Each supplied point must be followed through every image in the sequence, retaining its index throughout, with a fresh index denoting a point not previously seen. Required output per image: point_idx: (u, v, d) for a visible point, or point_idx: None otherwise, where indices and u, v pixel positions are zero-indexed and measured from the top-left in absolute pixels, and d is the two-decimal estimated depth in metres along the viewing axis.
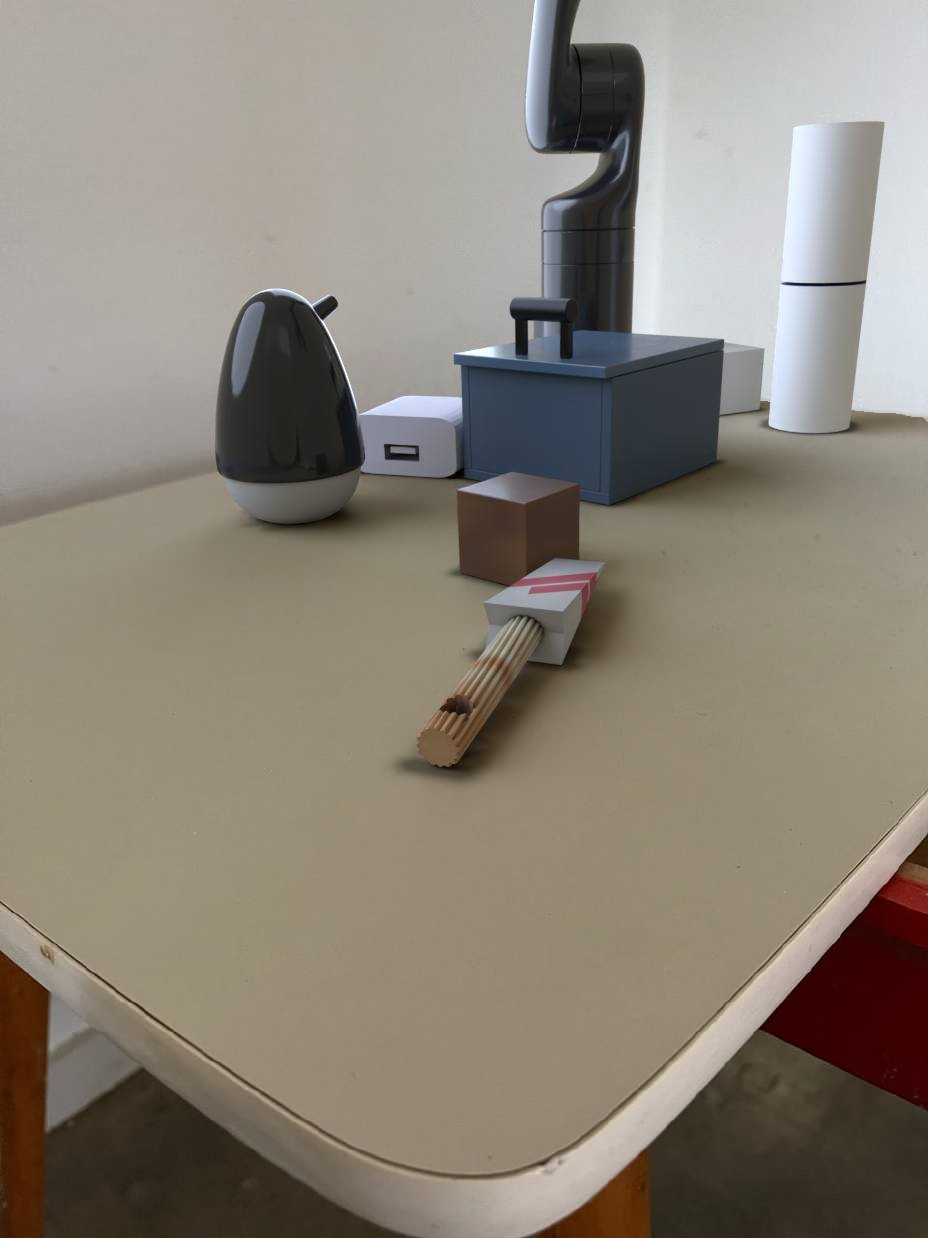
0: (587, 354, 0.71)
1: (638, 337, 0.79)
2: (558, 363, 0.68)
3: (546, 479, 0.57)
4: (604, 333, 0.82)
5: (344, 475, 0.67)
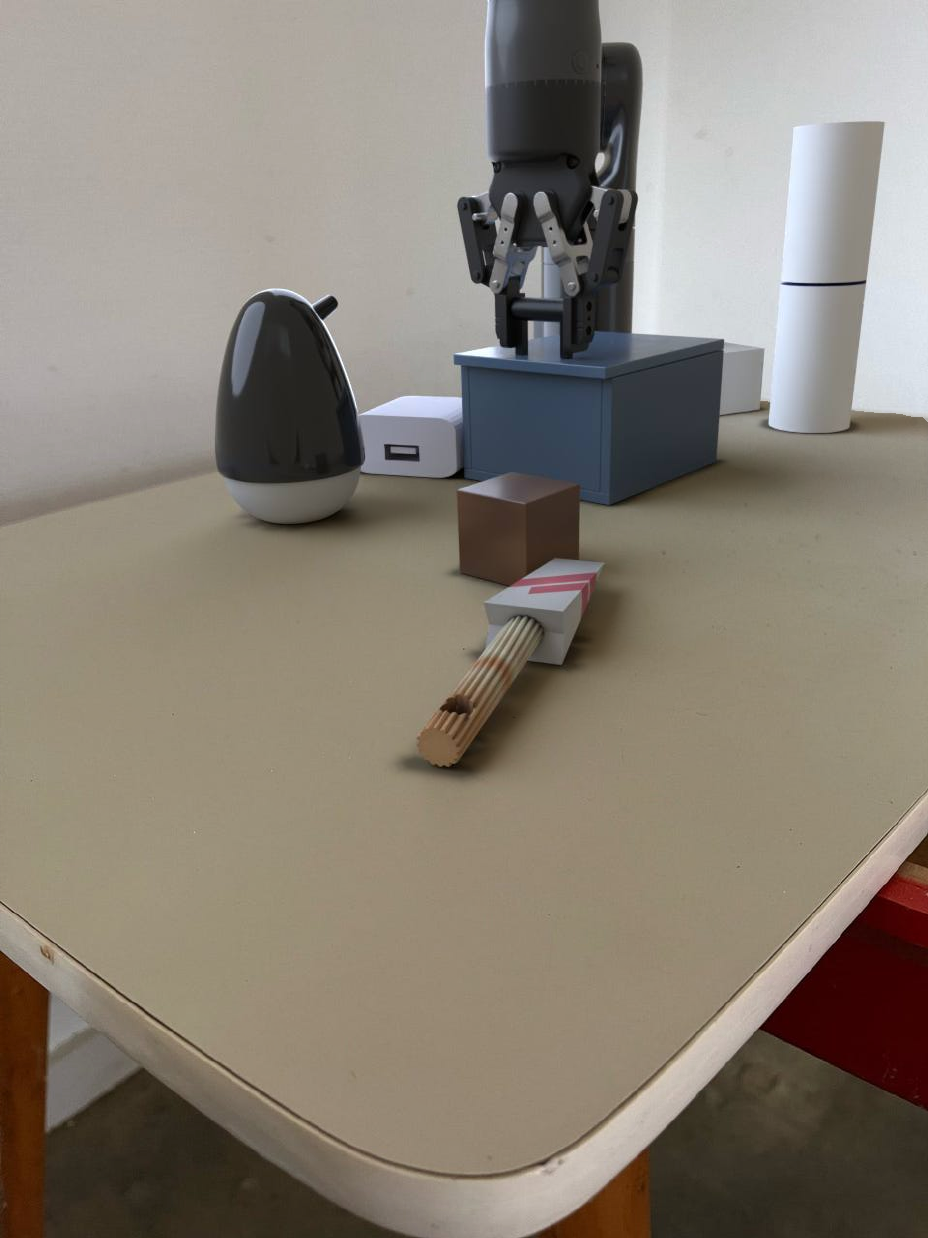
0: (587, 354, 0.71)
1: (638, 337, 0.79)
2: (558, 363, 0.68)
3: (546, 479, 0.57)
4: (604, 333, 0.82)
5: (344, 475, 0.67)
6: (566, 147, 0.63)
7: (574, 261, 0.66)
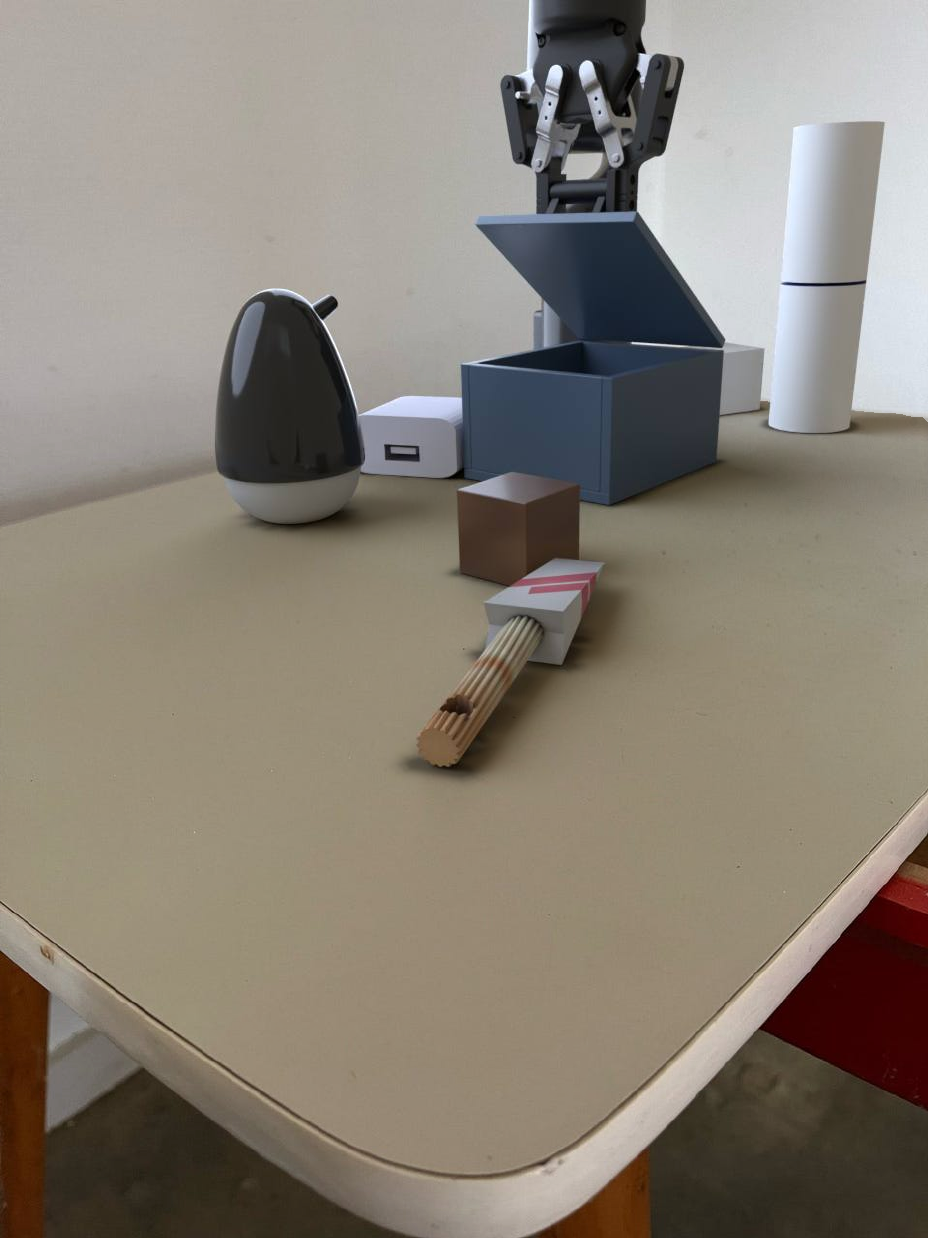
0: None
1: None
2: None
3: (546, 479, 0.57)
4: None
5: (344, 475, 0.67)
6: (614, 12, 0.63)
7: (619, 131, 0.67)
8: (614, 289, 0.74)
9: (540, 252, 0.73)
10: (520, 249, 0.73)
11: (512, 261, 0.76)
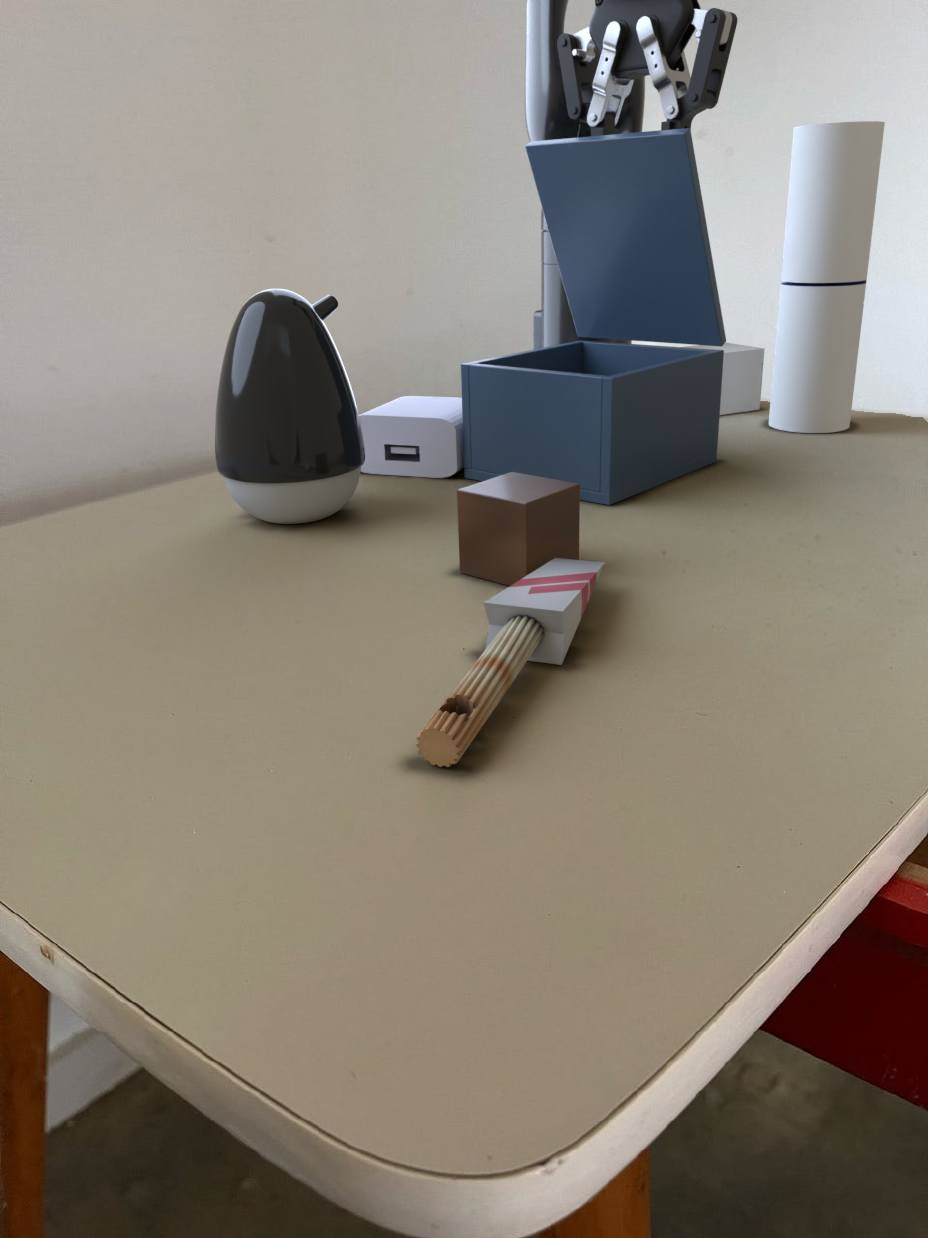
0: None
1: None
2: (640, 132, 0.69)
3: (546, 479, 0.57)
4: None
5: (344, 475, 0.67)
6: None
7: (674, 84, 0.70)
8: (636, 248, 0.75)
9: (578, 189, 0.74)
10: (560, 184, 0.75)
11: (545, 206, 0.77)
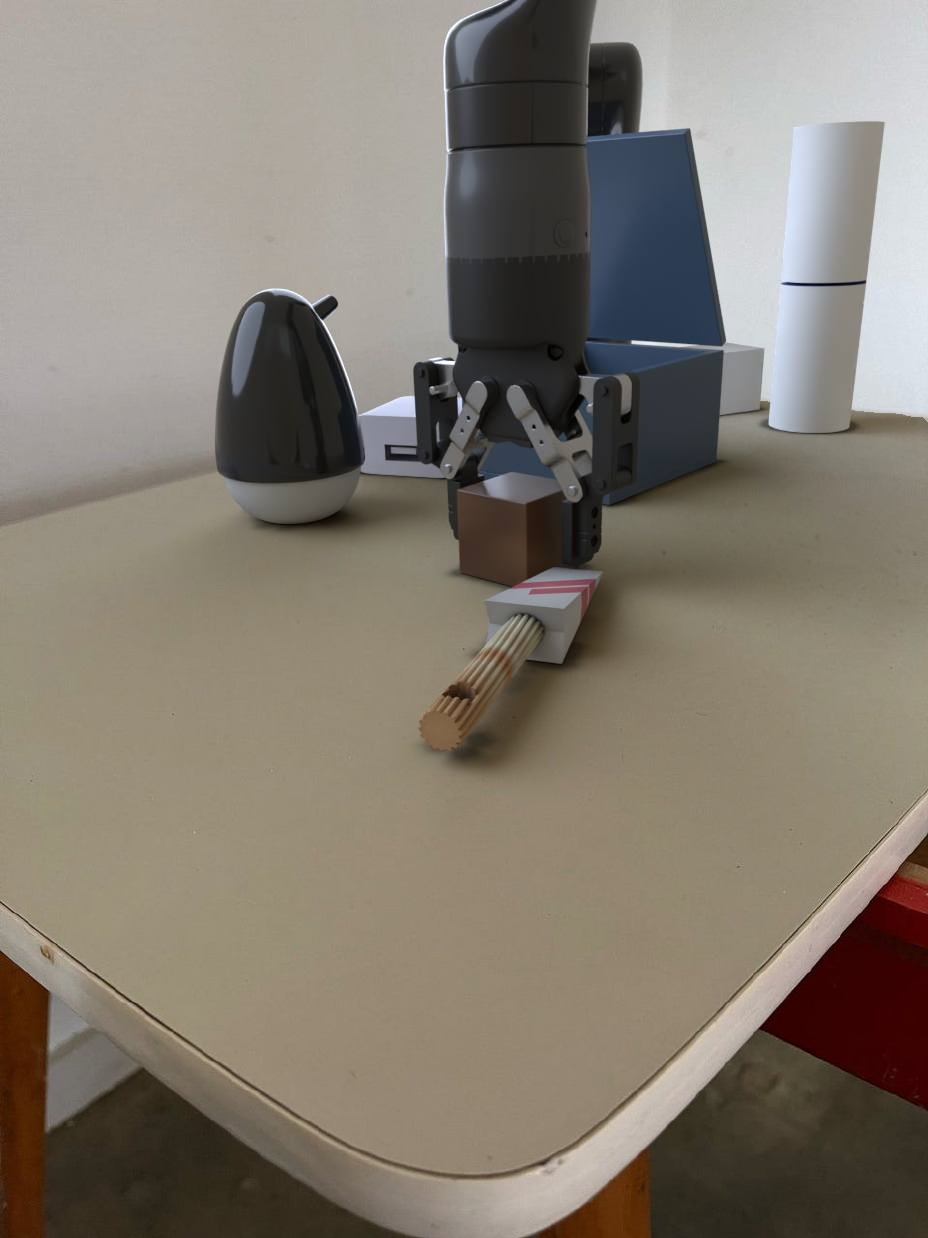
0: None
1: None
2: (640, 132, 0.69)
3: (546, 479, 0.57)
4: None
5: (344, 475, 0.67)
6: (547, 336, 0.50)
7: (570, 460, 0.52)
8: (636, 248, 0.75)
9: None
10: None
11: None
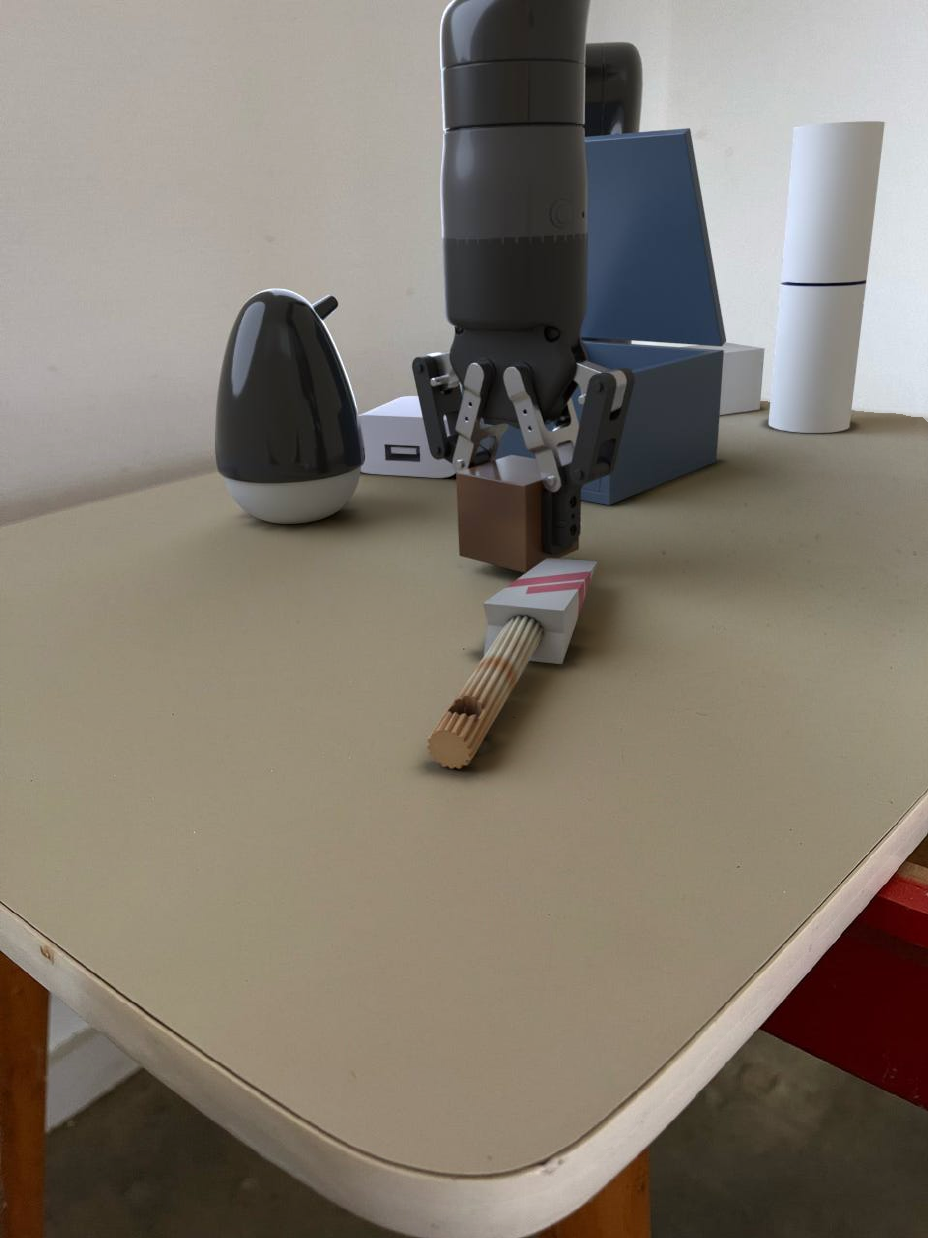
0: None
1: None
2: (640, 132, 0.69)
3: None
4: None
5: (344, 475, 0.67)
6: (543, 318, 0.50)
7: (554, 451, 0.53)
8: (636, 248, 0.75)
9: None
10: None
11: None
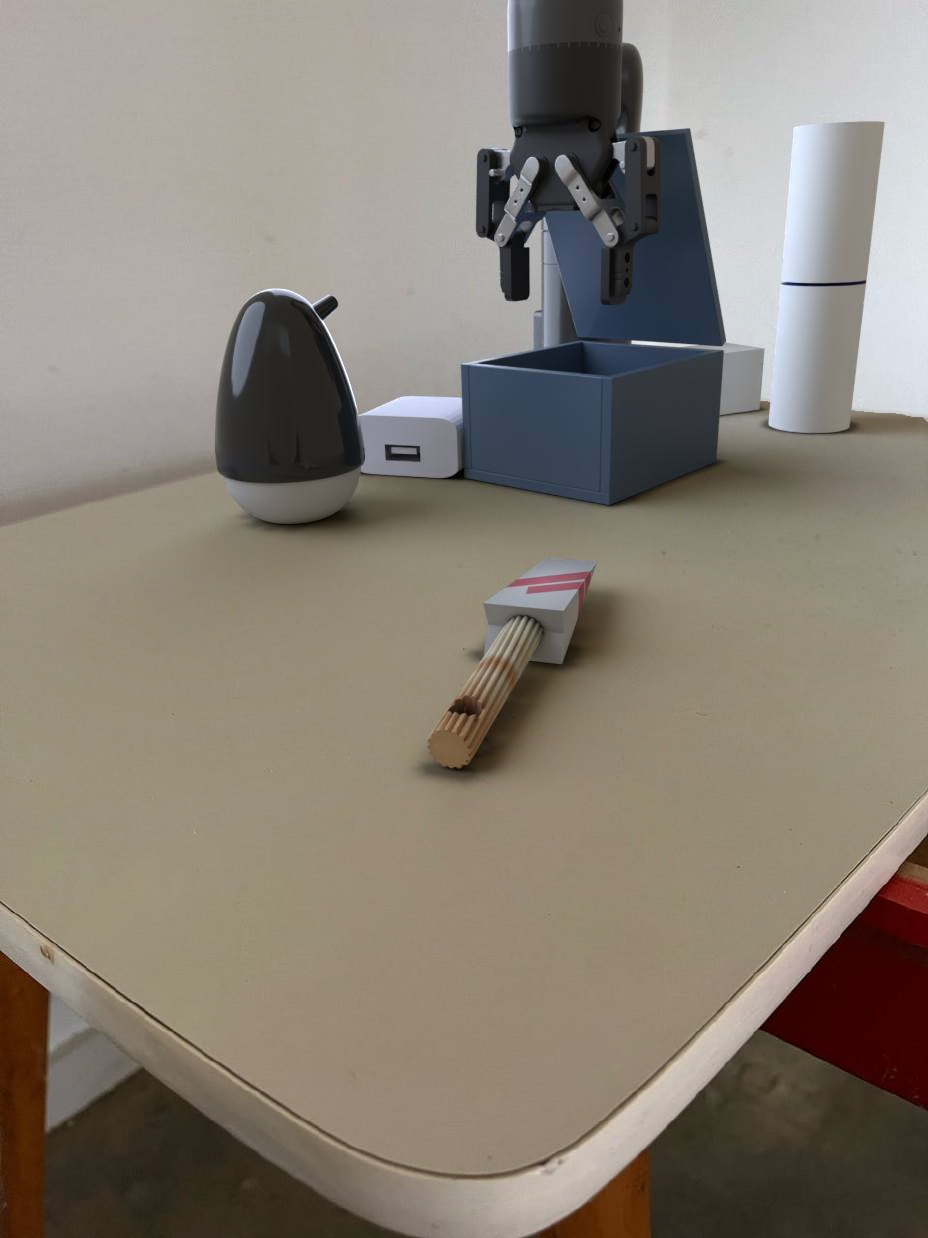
0: None
1: None
2: (640, 132, 0.69)
3: None
4: None
5: (344, 475, 0.67)
6: (588, 110, 0.64)
7: (607, 212, 0.66)
8: (636, 248, 0.75)
9: None
10: None
11: None
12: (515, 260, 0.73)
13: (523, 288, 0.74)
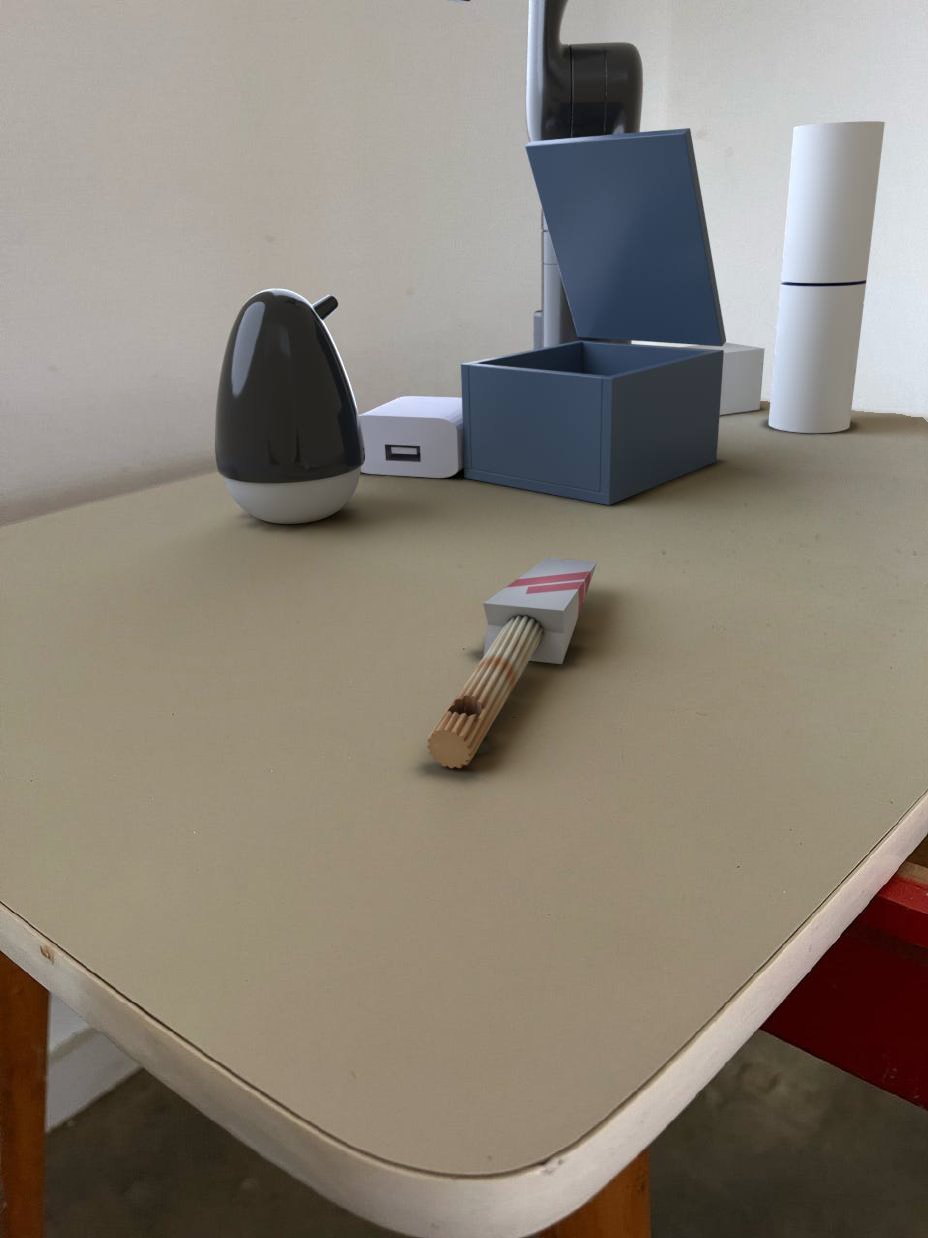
0: None
1: None
2: (640, 132, 0.69)
3: None
4: None
5: (344, 475, 0.67)
6: None
7: None
8: (636, 248, 0.75)
9: (578, 189, 0.74)
10: (559, 184, 0.75)
11: (545, 206, 0.77)
12: None
13: None
